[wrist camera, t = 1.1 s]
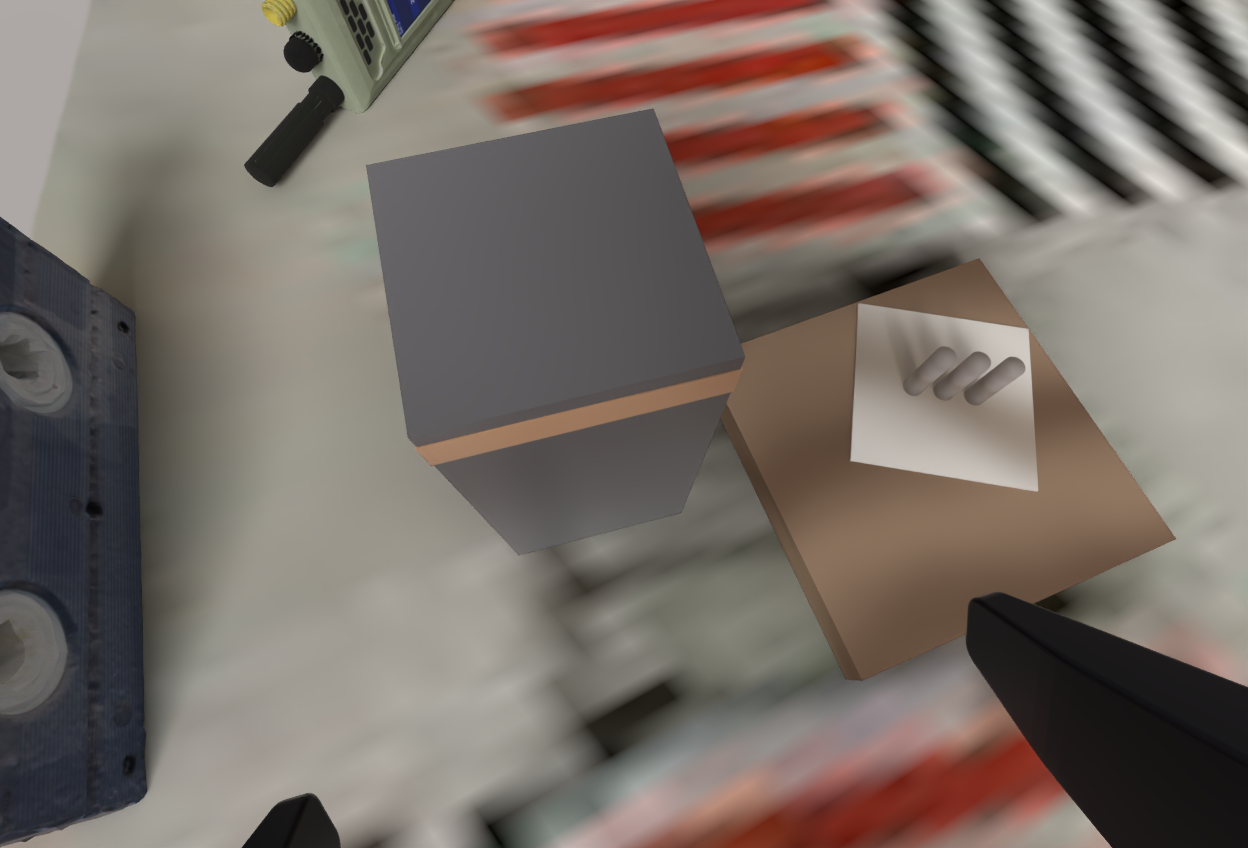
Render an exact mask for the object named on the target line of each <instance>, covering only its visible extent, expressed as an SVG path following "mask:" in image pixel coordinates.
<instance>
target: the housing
mask: <svg viewBox="0 0 1248 848" xmlns="http://www.w3.org/2000/svg"><path fill="white" fill-rule="evenodd" d="M366 168H367V175H368V181H369V188H370V194H371V201H372V207H373V214H374V220H375V227H376V233H377V240H378V246H379V253H380V259H381V266H382V272H383V279H384V285H385V292H386V298H387V305H388V311H389V318H390V324H391V330H392V337H393V343H394V350H395V356H396V363H397V369H398V376H399V382H400V389H401V395H402V402H403V408H404V415H405V421H406V428H407V434H408V438H409V439H410V440H411V442H412V443H413V444H414V445H415V449H416V450H417V451H418V452H419V453H420V454H421V456H422V457H423V458H424V459H425V460H426V461H427V462H428V463H429V464H430V465H431V466H433V465H434V466H435V467H436V468H437V469H438V470H439V471H440V472H441V473H442V474H443V475H444V476H445V478H446V479H447V480H448V481H449V482H450V483H451V484H452V485H453V486H454V487H455V488H456V489H457V490H458V491H459V492H460V493H461V494H462V496H463V497H464V498H465V499H466V500H467V501H468V502H469V503H470V504H471V505H472V506H473V507H474V508H475V509H476V510H477V511H478V512H479V514H480V515H481V516H482V517H483V518H484V519H485V520H486V521H487V522H488V523H489V524H490V525H491V526H492V527H493V528H494V529H495V530H496V532H497V533H498V534H499V535H500V536H501V537H502V538H503V539H504V540H505V541H506V542H507V543H508V544H509V545H510V546H511V547H512V548H513V550H514V551H515V552H516V553H517V554H518V555H522V554H525V553H529V552H533V551H537V550H541V549H544V548H548V547H552V546H556V545H560V544H564V543H567V542H571V541H575V540H579V539H583V538H586V537H590V536H594V535H598V534H602V533H605V532H609V531H613V530H617V529H621V528H624V527H628V526H632V525H636V524H640V523H643V522H647V521H651V520H655V519H659V518H662V517H666V516H670V515H674V514H678V513H681V512H682V509H683V507H684V504H685V502H686V500H687V497H688V495H689V492H690V490H691V488H692V485H693V483H694V480H695V478H696V475H697V473H698V471H699V468H700V466H701V463H702V461H703V459H704V456H705V454H706V451H707V449H708V446H709V444H710V442H711V439H712V437H713V434H714V432H715V430H716V427H717V425H718V422H719V420H720V417H721V415H722V413H723V410H724V408H725V405H726V403H727V401H728V398H729V396H730V393H731V392H734V389H735V387H736V384H737V382H738V380H739V377H740V375H741V373H742V364H743V362H744V359H745V357H746V356H745V354H744V351H743V348H742V346H741V343H740V340H739V337H738V335H737V332H736V329H735V327H734V324H733V321H732V319H731V316H730V313H729V311H728V308H727V305H726V302H725V300H724V297H723V294H722V292H721V289H720V286H719V284H718V281H717V278H716V276H715V273H714V270H713V267H712V265H711V262H710V259H709V257H708V254H707V251H706V249H705V246H704V243H703V241H702V238H701V235H700V232H699V230H698V227H697V224H696V222H695V219H694V216H693V214H692V211H691V208H690V206H689V203H688V200H687V197H686V195H685V192H684V189H683V187H682V184H681V181H680V179H679V176H678V173H677V171H676V168H675V165H674V162H673V160H672V157H671V154H670V152H669V149H668V146H667V144H666V141H665V138H664V136H663V133H662V130H661V127H660V125H659V122H658V119H657V117H656V114H655V111H654V109H649V110H644V111H639V112H634V113H629V114H623V115H618V116H613V117H608V118H603V119H598V120H593V121H588V122H583V123H578V124H573V125H568V126H563V127H557V128H552V129H547V130H542V131H537V132H532V133H527V134H522V135H517V136H512V137H507V138H502V139H497V140H492V141H486V142H481V143H476V144H471V145H466V146H461V147H456V148H451V149H446V150H441V151H436V152H431V153H426V154H421V155H415V156H410V157H405V158H400V159H395V160H390V161H385V162H380V163H375V164H370V165H366Z"/></svg>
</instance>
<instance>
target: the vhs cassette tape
mask: <svg viewBox="0 0 1248 848" xmlns="http://www.w3.org/2000/svg"><path fill="white" fill-rule="evenodd" d="M143 723H144V678H143V621H142V587H141V543H140V501H139V454H138V408H137V373H136V346H135V315H134V312H133V311H132V310H131V309H129V308H128V307H126V306H124V305H123V304H122V303H121V302H120V301H118V300H117V299H115V298H114V297H112V296H111V295H109V294H108V293H106V292H105V291H104V290H102V289H100V288H98V287H95V286H92V285H90V282H89V280H88V279H87V278H85V277H83V276H82V275H81V274H80V273H78V272H77V271H76V270H75V269H73V268H72V267H70V266H69V265H67V264H66V263H64V262H63V261H62V260H60V259H59V258H58V257H56V256H55V255H54V254H52V253H51V252H49V251H48V250H46V249H45V248H43V247H42V246H40V245H39V244H37V243H36V242H34V241H32V240H31V239H30V238H28V237H27V236H25V235H24V234H23V233H21V232H20V231H19V230H18V229H16V228H15V227H14V226H12V225H11V224H9V223H8V222H7V221H5V220H4V219H2V218H1V217H0V847H2V846H5V845H9V844H13V843H16V842H21V841H22V842H26V841H28V840H29V839H31V838H33V837H34V836H39V835H44V834H48V833H51V832H53V831H56V830H63V829H64V828H66V827H68V826H70V825H73V824H77V823H80V822H84V821H88V820H92V819H96V818H99V817H102V816H105V815H108V814H111V813H113V812H116V811H119V810H122V809H124V808H125V807H128V806H131V805H133V804H136V803H138V802H139V801H140V800H142V799H143V798H144V796H145V794H146V792H147V786H146V775H145V762H144V748H145V737H146V732H145V730H144V728H143Z"/></svg>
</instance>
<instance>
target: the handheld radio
mask: <svg viewBox="0 0 1248 848" xmlns="http://www.w3.org/2000/svg"><path fill="white" fill-rule="evenodd" d="M453 1H454V0H266V1H265V2H263V4H262V11H263V13H264V15H265V16H266V18H267V19H268V20H269V21H270V22H271V23H273V24H274V25H276V26H284V25H285V24H286V26H287V28H288V30H289V31H290V33H291V35H292V36H291V37H290V38H289V41H288V42H287V44H286V45H285V47H284V57H285V59H286V61H287V63H288V64H289V65H290V66H291V67H292V68H293V69H295V70H296V71H299V72H303V73H304V72H309V71H311V72H312V73H313V75H314V77H315V79H316V81H315V82H314V83H313V84H312V86H311V87H310V88H309V90H308V91H309V94H308V95H307V96H306V97H305V98H304V100H303V101H302V102H301V103H298V104H297V105H296V106H295V107H294V108H293V109H292V111H291V112H290V113H289V114H288V115H287V116H286V117H285V119H284V120H283V121H282V122H281V123H280V124H279V125H278V127H277V128H276V129H275V130H274V131H273V132H272V133H271V135H270V136H269V137H268V138H267V139H266V140H265V141H264V143H263V144H262V145H261V146H260V147H259V148H258V149H257V151H256V152H255V153H254V154H253V155H252V156H251V157H250V158H249V160H248V161H247V162H246V163H245V164H244V166H245V168H246V170H247V171H248V172H249V174H250V175H251V176H252V177H253V178H255V179H256V180H257V181H259V182H260V183H262V184H264V185H266V186H269V187H273V186H274V185H275V184H276V183H277V181H278V180H279V179H280V178H281V176H282V175H283V174H284V173H285V172H286V170H287V169H288V168H289V167H290V165H291V164H292V163H293V162H294V161H295V159H296V158H297V157H298V156H299V154H300V153H301V152H302V151H303V150H304V148H305V147H306V146H307V145H308V143H309V142H310V141H311V140H312V139H313V137H314V136H315V135H316V134H317V132H318V131H319V130H320V129H321V128H322V126H323V125H324V121H323V120H324V119H325V118H326V117H327V116H328V114H329V113H330V112H331V113H332V112H335V110H336V109H337V108H338V107H339V106H340V107H342V108H345V109H347V110H350V111H352V112H355V113H363V112H364V111H365V110H366V109H367V108H368V107H369V106H370V105H371V103H372V102H373V101H374V100H375V98H376V97H377V96H378V95H379V93H380V92H381V91H382V90H383V88H384V87H385V86H386V85H387V83H388V82H389V81H390V80H391V78H392V77H393V76H394V75H395V73H396V72H397V71H398V70H399V68H400V67H401V66H402V65H403V63H404V62H405V61H406V60H407V58H408V57H409V56H410V55H411V53H412V52H413V51H414V49H415V48H416V47H417V46H418V44H419V43H420V42H421V41H422V39H423V38H424V37H425V36H426V34H427V33H428V32H429V31H430V29H431V28H432V27H433V26H434V24H435V23H436V22H437V21H438V19H439V18H440V17H441V16H442V14H443V13H444V12H445V11H446V9H447V8H448V7H449V6H450V4H451V3H452V2H453Z"/></svg>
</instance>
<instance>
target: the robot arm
mask: <svg viewBox="0 0 1248 848" xmlns="http://www.w3.org/2000/svg"><path fill="white" fill-rule="evenodd" d="M966 645H967V650H968V652H969V655H970V657H971V659H972V660H973V662H974V664H975V665H976V667H977V668H978V669H979V671H980V672H981V674H982V675H983V677H984V678H985V680H986V681H987V683H988V684H989V686H990V687H991V689H992V690H993V691H994V693H995V694H996V696H997V697H998V699H999V700H1000V702H1001V703H1002V705H1003V706H1004V708H1005V709H1006V711H1007V712H1008V713H1009V715H1010V716H1011V718H1012V719H1013V721H1014V722H1015V724H1016V725H1017V727H1018V728H1019V730H1020V731H1021V733H1022V734H1023V735H1024V737H1025V738H1026V740H1027V741H1028V743H1029V744H1030V746H1031V747H1032V748H1033V750H1034V751H1035V753H1036V754H1037V755H1038V757H1039V758H1040V760H1041V761H1042V762H1043V764H1044V765H1045V766H1046V767H1047V769H1048V770H1049V771H1050V772H1051V774H1052V775H1053V776H1054V778H1055V779H1056V780H1057V781H1058V782H1059V784H1060V785H1061V786H1062V787H1063V789H1064V790H1065V791H1066V792H1067V793H1068V795H1069V796H1070V797H1071V798H1072V800H1073V801H1074V802H1075V803H1076V804H1077V806H1078V807H1079V808H1080V809H1081V810H1082V812H1083V813H1084V814H1085V815H1086V817H1087V818H1088V819H1089V820H1090V821H1091V823H1092V824H1093V825H1094V826H1095V827H1096V829H1097V830H1098V831H1099V832H1100V834H1101V835H1102V836H1103V837H1104V838H1105V840H1106V841H1107V842H1108V843H1109V844H1110V846H1111V847H1112V848H1248V687H1246V686H1243V685H1241V684H1238V683H1236V682H1233V681H1231V680H1228V679H1225V678H1223V677H1220V676H1218V675H1215V674H1212V673H1210V672H1207V671H1205V670H1202V669H1200V668H1197V667H1194V666H1192V665H1189V664H1187V663H1184V662H1182V661H1179V660H1176V659H1174V658H1171V657H1169V656H1166V655H1163V654H1161V653H1158V652H1156V651H1153V650H1151V649H1148V648H1145V647H1143V646H1140V645H1138V644H1135V643H1133V642H1130V641H1127V640H1125V639H1122V638H1120V637H1117V636H1114V635H1112V634H1109V633H1107V632H1104V631H1102V630H1099V629H1096V628H1094V627H1091V626H1089V625H1086V624H1084V623H1081V622H1078V621H1076V620H1073V619H1071V618H1068V617H1065V616H1063V615H1060V614H1058V613H1055V612H1053V611H1050V610H1047V609H1045V608H1042V607H1040V606H1037V605H1035V604H1032V603H1029V602H1027V601H1024V600H1022V599H1019V598H1016V597H1014V596H1011V595H1009V594H1006V593H1003V592H992V593H988V594H985V595H981V596H978V597H975V598H973V599H971V600H970V602H969V604H968V611H967V630H966ZM242 848H341V846H340V838H339V835H338V832H337V830H336V828H335V826H334V824H333V823H332V821H331V819H330V818H329V816H328V814H327V812H326V811H325V809H324V807H323V805H322V804H321V802H320V800H319V799H318V797H317V796H316V795H314V794H312V793H306V794H303V795H299V796H296V797H292V798H289V799H286V800H283V801H281V802H279V803H278V804H276V805H275V806H274V807H273V808H272V809H271V811H270V812H269V813H268V815H267V816H266V817H265V818H264V820H263V821H262V822H261V823H260V825H259V826H258V827H257V829H256V830H255V831H254V832H253V834H252V835H251V836H250V838H249V839H248V840H247V841H246V843H245V844H244V845H243V847H242Z"/></svg>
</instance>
